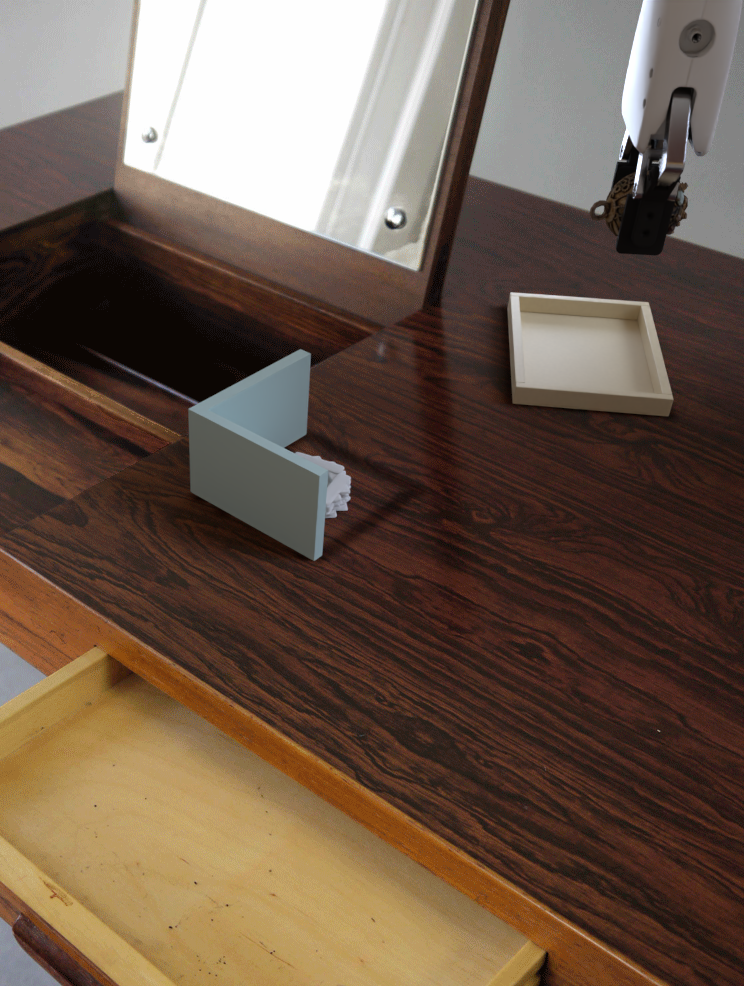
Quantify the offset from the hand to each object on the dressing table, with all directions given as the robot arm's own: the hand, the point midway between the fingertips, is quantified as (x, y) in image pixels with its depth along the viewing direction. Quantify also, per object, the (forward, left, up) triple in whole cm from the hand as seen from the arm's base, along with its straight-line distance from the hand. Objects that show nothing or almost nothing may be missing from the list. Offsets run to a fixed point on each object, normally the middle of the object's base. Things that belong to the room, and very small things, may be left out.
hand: (632, 232), depth 83 cm
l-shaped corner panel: (+22, +15, -15) cm, 31 cm away
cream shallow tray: (0, -9, -15) cm, 18 cm away
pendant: (0, 0, -1) cm, 1 cm away
